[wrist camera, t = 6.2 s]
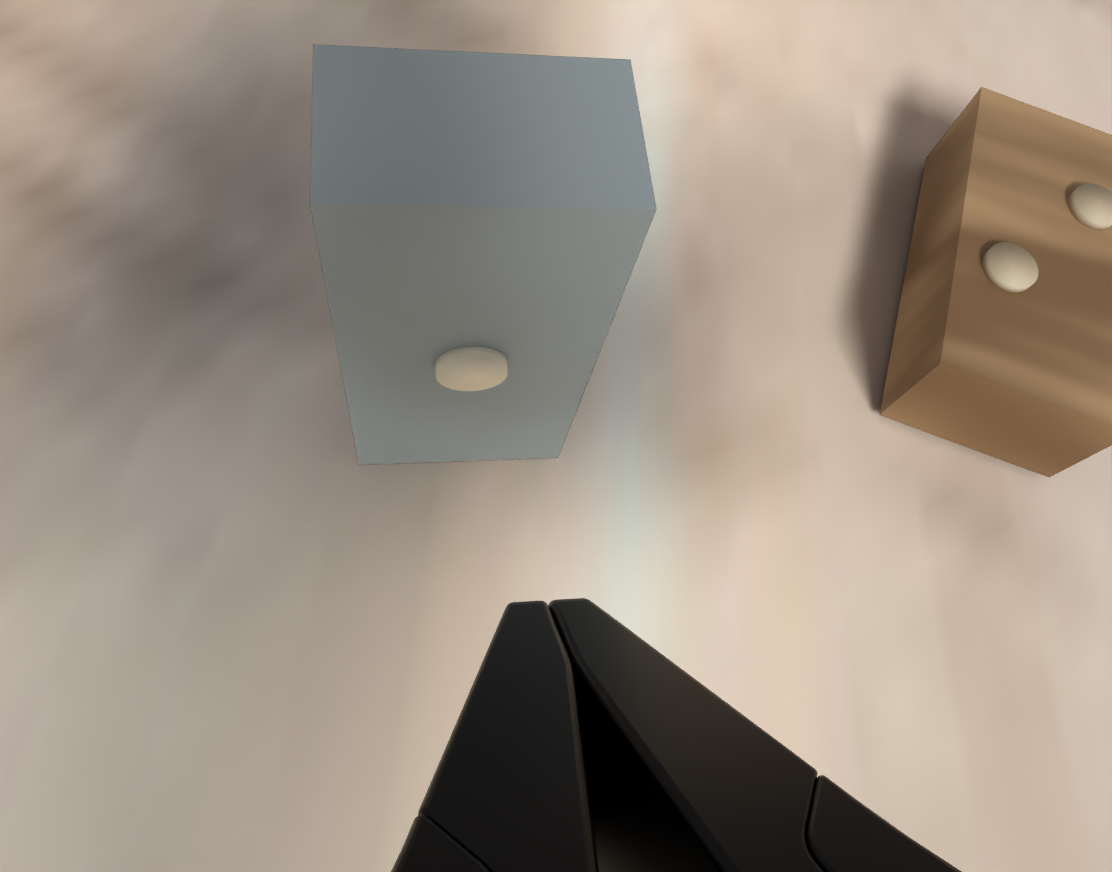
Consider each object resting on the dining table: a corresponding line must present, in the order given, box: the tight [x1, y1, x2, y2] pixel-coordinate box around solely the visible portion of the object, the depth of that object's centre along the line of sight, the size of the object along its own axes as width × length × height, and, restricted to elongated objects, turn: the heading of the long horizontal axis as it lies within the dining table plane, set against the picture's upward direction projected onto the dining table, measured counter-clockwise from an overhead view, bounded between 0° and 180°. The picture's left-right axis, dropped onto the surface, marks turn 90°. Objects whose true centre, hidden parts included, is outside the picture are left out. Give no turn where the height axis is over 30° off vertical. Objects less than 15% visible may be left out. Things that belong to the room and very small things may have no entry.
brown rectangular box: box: [880, 87, 1112, 477], centre depth 24 cm, size 4×5×10 cm
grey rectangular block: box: [310, 44, 656, 465], centre depth 17 cm, size 4×5×10 cm
